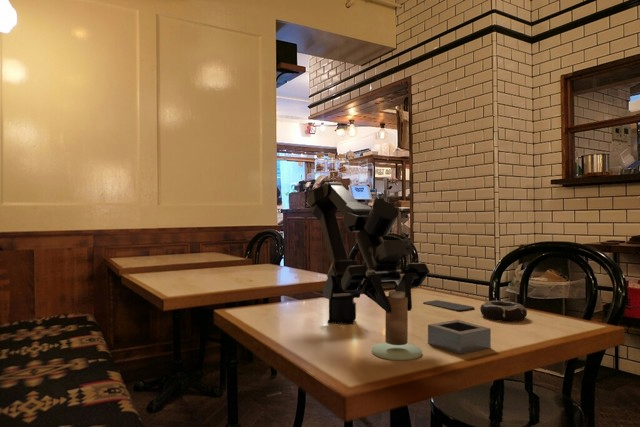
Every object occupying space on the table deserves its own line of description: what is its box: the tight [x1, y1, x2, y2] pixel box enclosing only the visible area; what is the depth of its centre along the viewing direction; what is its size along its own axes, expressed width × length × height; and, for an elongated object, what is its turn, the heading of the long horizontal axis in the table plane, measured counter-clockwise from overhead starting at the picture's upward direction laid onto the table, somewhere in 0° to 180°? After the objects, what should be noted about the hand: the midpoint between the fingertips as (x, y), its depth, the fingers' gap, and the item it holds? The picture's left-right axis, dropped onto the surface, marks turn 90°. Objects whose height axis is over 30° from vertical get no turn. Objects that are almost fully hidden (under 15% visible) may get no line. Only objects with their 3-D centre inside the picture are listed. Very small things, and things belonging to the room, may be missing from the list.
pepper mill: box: [384, 290, 409, 345], centre depth 88 cm, size 4×4×10 cm
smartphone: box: [422, 299, 475, 313], centre depth 133 cm, size 7×1×15 cm
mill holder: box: [427, 319, 492, 355], centre depth 92 cm, size 9×9×4 cm
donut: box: [479, 300, 528, 323], centre depth 118 cm, size 12×12×4 cm
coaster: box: [371, 342, 423, 361], centre depth 88 cm, size 10×10×1 cm
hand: (400, 310), depth 86 cm, fingers closed on pepper mill, 4 cm apart
